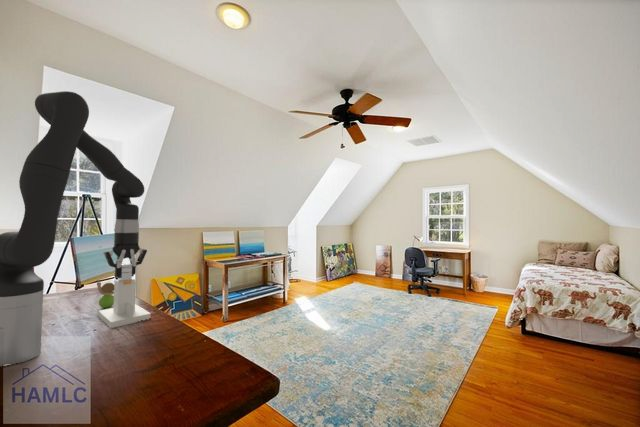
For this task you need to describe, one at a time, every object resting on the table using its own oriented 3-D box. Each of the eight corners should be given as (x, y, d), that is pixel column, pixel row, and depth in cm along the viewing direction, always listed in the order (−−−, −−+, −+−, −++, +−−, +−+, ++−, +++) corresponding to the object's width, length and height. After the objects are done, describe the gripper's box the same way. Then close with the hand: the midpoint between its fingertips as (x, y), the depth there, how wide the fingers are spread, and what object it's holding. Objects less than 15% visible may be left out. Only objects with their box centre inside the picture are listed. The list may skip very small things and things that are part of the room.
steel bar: (130, 309, 102) (132, 264, 103) (120, 311, 99) (121, 264, 100) (128, 307, 104) (129, 263, 105) (117, 309, 102) (119, 264, 102)
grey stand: (150, 318, 101) (151, 280, 101) (110, 328, 91) (112, 286, 92) (134, 308, 112) (135, 274, 112) (97, 315, 103) (99, 278, 103)
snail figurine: (97, 307, 113) (99, 278, 114) (116, 305, 116) (117, 277, 116) (93, 311, 108) (94, 280, 109) (113, 309, 111) (114, 279, 111)
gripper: (106, 232, 95) (104, 281, 94) (151, 231, 106) (149, 275, 105) (101, 231, 100) (99, 278, 99) (144, 230, 111) (143, 273, 110)
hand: (125, 276), depth 102 cm, fingers open, 3 cm apart
